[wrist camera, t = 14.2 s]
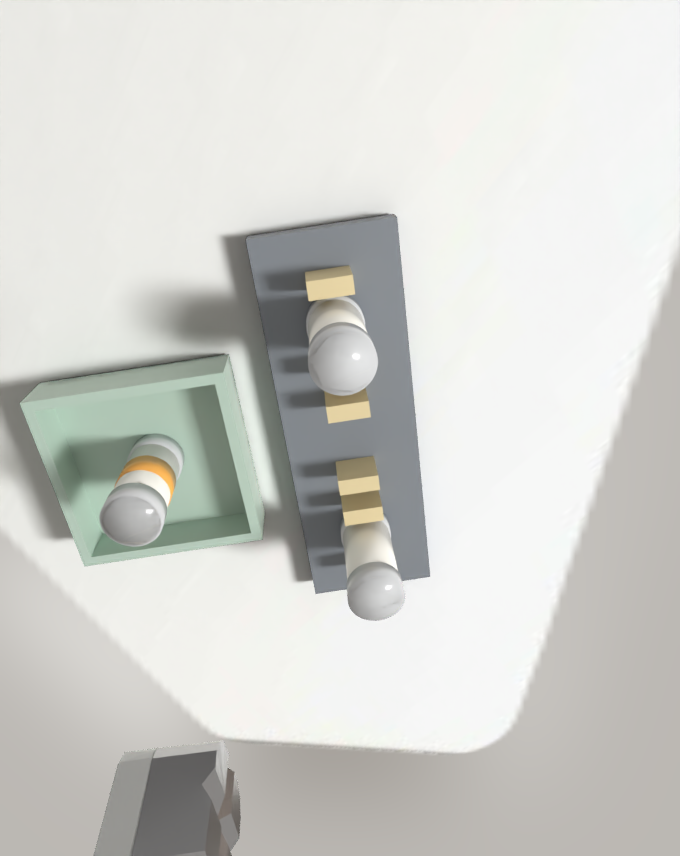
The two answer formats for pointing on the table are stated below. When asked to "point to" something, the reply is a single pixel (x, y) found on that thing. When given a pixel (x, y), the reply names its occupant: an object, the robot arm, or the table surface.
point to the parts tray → (129, 421)
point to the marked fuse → (143, 491)
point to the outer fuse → (371, 570)
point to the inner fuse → (339, 346)
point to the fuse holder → (351, 414)
